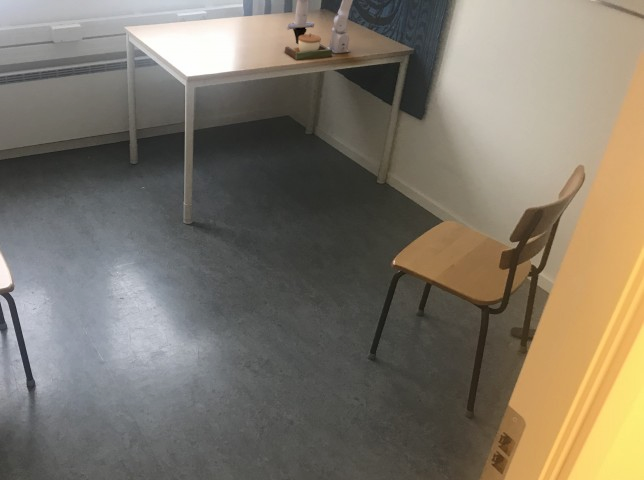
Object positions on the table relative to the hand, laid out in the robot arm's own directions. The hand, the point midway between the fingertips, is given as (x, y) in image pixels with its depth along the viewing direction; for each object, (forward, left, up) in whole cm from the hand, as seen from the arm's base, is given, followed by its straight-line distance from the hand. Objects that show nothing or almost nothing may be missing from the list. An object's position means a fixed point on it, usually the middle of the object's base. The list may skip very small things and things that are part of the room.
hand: (298, 43), depth 346 cm
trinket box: (-11, 0, -2) cm, 11 cm away
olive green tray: (-11, 0, -2) cm, 11 cm away
